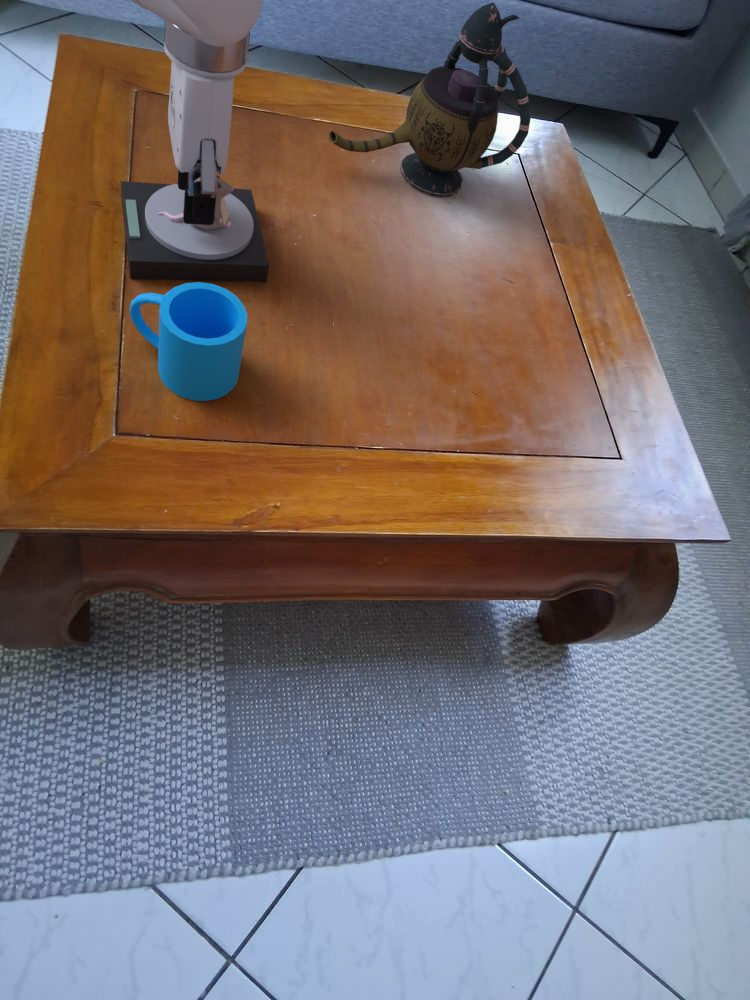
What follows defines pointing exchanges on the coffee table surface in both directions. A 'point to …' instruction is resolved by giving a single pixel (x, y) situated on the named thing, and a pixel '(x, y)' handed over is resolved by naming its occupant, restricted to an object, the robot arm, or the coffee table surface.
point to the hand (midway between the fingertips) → (195, 204)
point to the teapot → (456, 112)
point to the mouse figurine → (220, 207)
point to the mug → (196, 338)
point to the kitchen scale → (190, 237)
